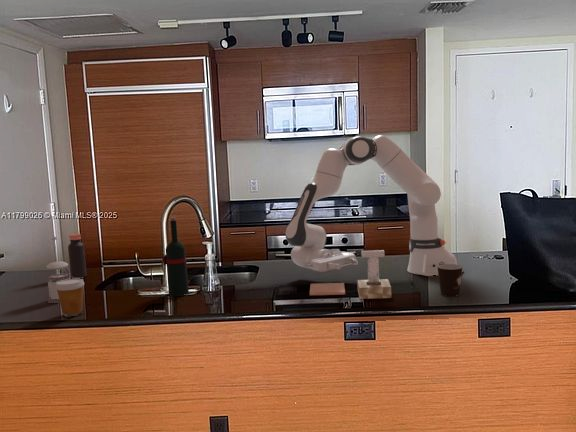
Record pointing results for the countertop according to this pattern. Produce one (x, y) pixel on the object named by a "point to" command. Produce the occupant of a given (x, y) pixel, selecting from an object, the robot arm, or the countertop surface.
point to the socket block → (374, 289)
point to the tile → (327, 289)
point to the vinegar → (77, 256)
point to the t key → (373, 265)
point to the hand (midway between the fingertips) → (348, 264)
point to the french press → (56, 275)
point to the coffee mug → (450, 279)
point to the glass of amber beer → (70, 295)
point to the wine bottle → (176, 264)
